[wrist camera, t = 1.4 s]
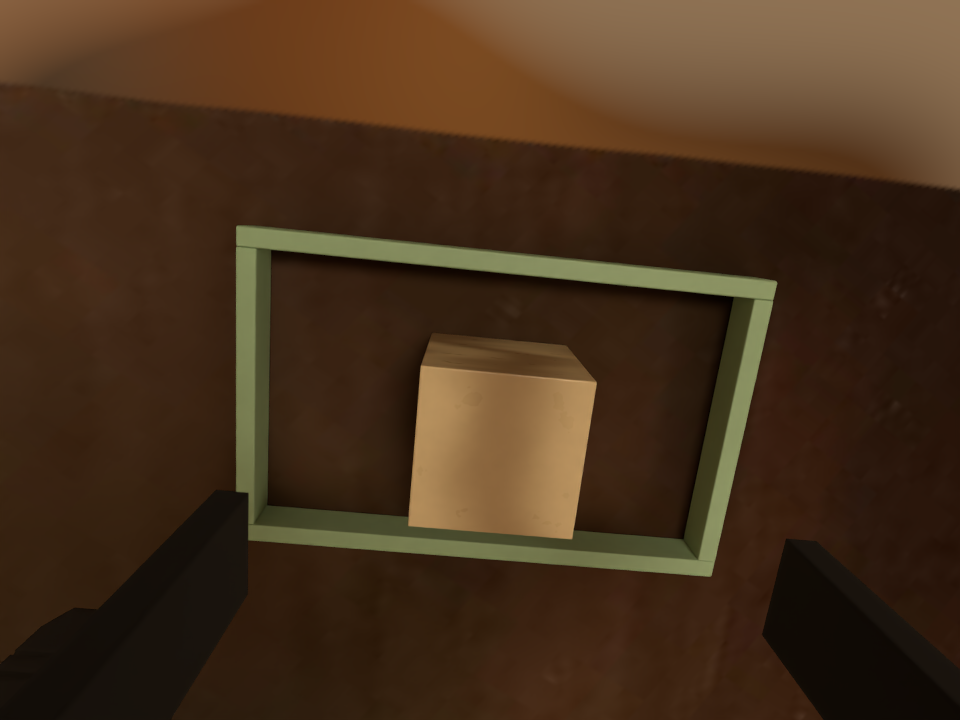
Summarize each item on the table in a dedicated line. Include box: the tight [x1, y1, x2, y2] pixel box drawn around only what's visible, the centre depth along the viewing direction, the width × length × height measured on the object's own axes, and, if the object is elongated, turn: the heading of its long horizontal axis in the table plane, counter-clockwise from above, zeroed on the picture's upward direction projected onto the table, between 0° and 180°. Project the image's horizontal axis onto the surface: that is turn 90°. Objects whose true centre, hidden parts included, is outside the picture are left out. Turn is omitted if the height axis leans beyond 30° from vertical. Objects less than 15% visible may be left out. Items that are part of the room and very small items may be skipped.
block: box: [408, 333, 597, 539], centre depth 22 cm, size 6×6×6 cm
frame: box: [236, 225, 777, 576], centre depth 24 cm, size 22×14×2 cm, turn 84°
